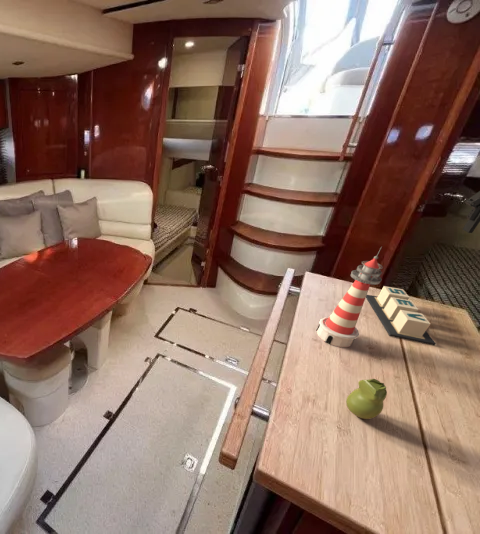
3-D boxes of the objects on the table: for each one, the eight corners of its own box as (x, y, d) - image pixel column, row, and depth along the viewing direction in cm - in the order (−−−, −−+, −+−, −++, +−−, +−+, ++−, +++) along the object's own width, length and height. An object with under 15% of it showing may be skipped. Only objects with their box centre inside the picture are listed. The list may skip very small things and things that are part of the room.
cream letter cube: (413, 326, 92) (422, 313, 89) (421, 337, 88) (431, 323, 85) (392, 322, 94) (400, 309, 91) (398, 332, 90) (408, 319, 87)
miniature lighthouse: (348, 353, 84) (403, 259, 69) (310, 336, 90) (353, 245, 75) (357, 338, 89) (410, 247, 74) (320, 323, 95) (362, 235, 80)
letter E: (403, 313, 97) (411, 300, 95) (410, 322, 93) (419, 309, 91) (383, 309, 99) (391, 296, 97) (389, 318, 95) (397, 305, 93)
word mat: (401, 302, 103) (403, 300, 103) (434, 345, 86) (436, 343, 86) (365, 296, 107) (366, 294, 107) (389, 336, 90) (390, 333, 89)
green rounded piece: (379, 423, 67) (402, 394, 62) (355, 424, 67) (376, 394, 62) (358, 401, 71) (378, 372, 66) (336, 402, 71) (354, 372, 66)
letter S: (395, 301, 103) (403, 288, 100) (401, 309, 99) (410, 296, 96) (376, 298, 105) (384, 285, 102) (382, 306, 101) (389, 293, 98)
